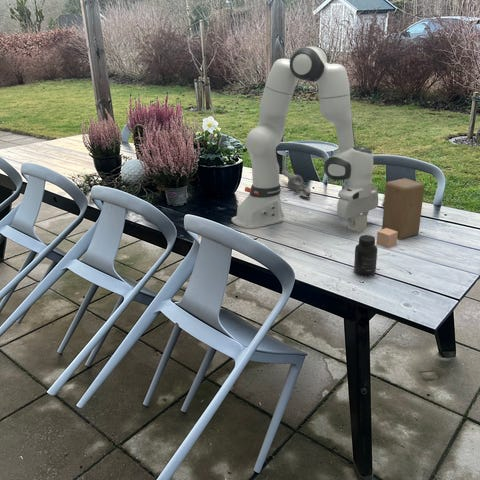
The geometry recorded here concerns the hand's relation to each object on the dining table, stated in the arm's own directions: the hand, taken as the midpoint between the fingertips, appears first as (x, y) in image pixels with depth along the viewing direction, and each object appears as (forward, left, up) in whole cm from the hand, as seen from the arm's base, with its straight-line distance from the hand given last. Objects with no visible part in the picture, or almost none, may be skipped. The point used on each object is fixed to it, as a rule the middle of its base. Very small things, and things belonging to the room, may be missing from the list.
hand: (357, 223), depth 183 cm
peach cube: (-4, -17, -2) cm, 18 cm away
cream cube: (0, 0, -2) cm, 2 cm away
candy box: (+14, +17, -2) cm, 22 cm away
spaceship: (+17, +53, -2) cm, 56 cm away
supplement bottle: (-27, -26, -2) cm, 38 cm away
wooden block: (+8, -14, -2) cm, 16 cm away
